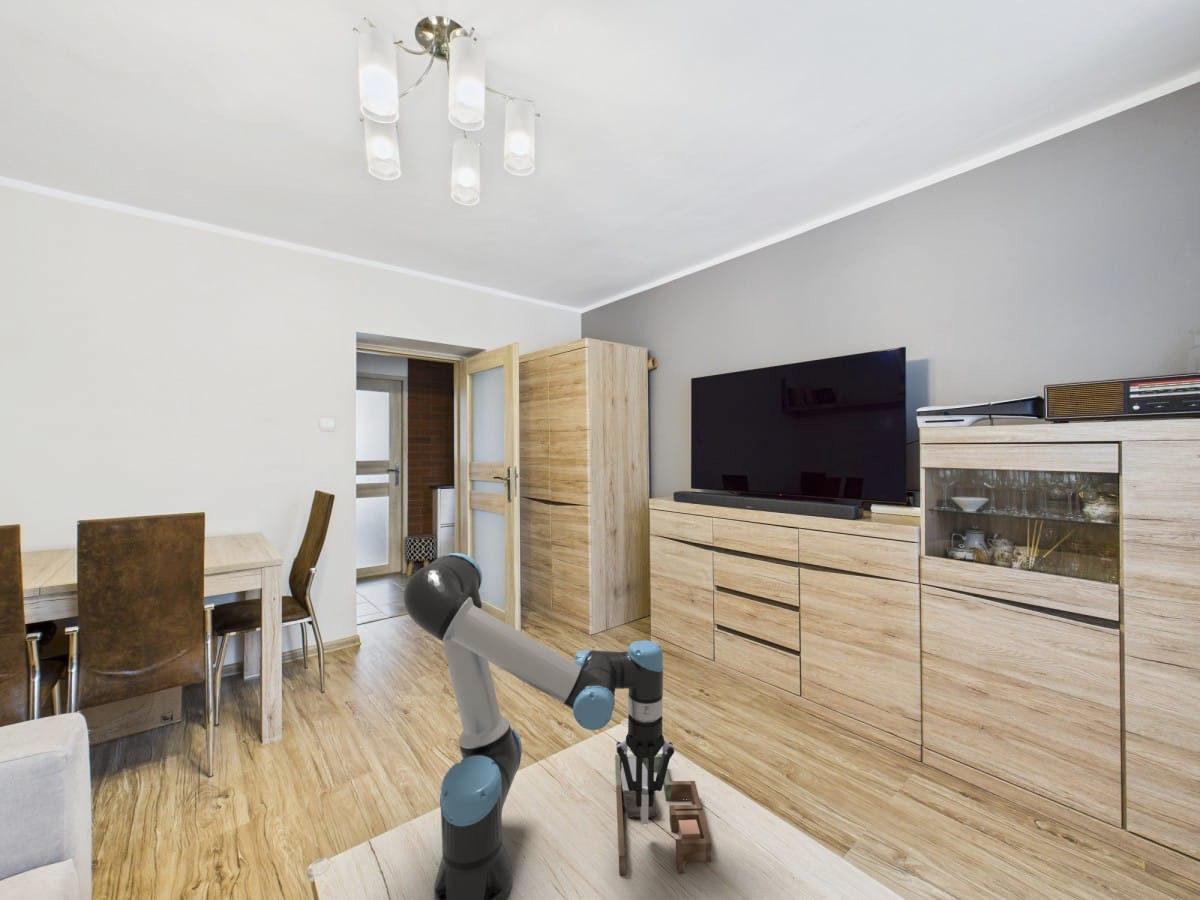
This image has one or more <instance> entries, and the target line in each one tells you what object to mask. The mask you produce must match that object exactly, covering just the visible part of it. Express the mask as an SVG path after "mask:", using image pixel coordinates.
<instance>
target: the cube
mask: <svg viewBox="0 0 1200 900" xmlns="http://www.w3.org/2000/svg"><path fill="white" fill-rule="evenodd" d="M678 822H679V832H678V839H700V831H699V828H698V824H697V821H696V820H678Z"/></svg>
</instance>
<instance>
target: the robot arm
mask: <svg viewBox="0 0 1200 900" xmlns="http://www.w3.org/2000/svg"><path fill="white" fill-rule="evenodd" d="M482 580H483V575H482V571H481V568H480V566H479V564H478V562H476V561H475V559H473V558H472V557H470V556H469V555H467V554H464V553H462V552H461V553H460V552H455V553H454V552H453V553H448V554H445V555H442V556H439V557H438V558H435V559H434V560H433V561H432V562H431V563H429V564H427V565H426V566H424V567H422V568H420V569H418V570H417V571H415V572H414V573H413V574H412V575H411V577H409V579H408V581H407V583H406V586H405V588H404V591H403V602H404V603H403V604H404V606H405V609H406V611H407V613H408V615H409V617H410V618H411V619H412V621H414V623H415V624H417V625H418V626H419V627H420V628H421V629H422V630H424V631H425V632H427V633H428V634H429V635H432V636H433V638H436V639H438V640H439V641H442V645H443V650H444V654H445V659H446V661H447V667H448V671H449V676H450V679H451V684H452V687H453V688H452V689H453V692H454V697H455V701H456V704H457V710H458V713H459V717H460V722H461V725H462V732H461V734H460V735H459V737H458V744H459V751H460V754H461V760H460V762H459V763H458V762H456V763H455V764H453V765H451V767H450V768H449V769H448V771H447V772H446V773H445V775H444V776H443V778H442V782H441V785H440V786H441V788H440V798H439V806H440V807H439V808H440V819H441V820H440V823H441V824H440V825H441V846H442V849H441V850H442V851H441V852H442V856H441V860H440V863H439V867H438V869H437V870H438V871H437V874H436V877H435V881H434V886H433V887H434V889H433V890H434V891H433V893H434V895H433V896H434V899H435V900H505V899H506V898H508V897H509V895H510V893H511V890H512V886H513V871H512V870H513V869H512V865H511V861H510V858H509V855H508V854H507V851H506V848H505V845H504V843H503V826H502V825H503V824H502V818H503V817H502V816H503V815H502V814H503V807H504V805H505V802H506V800H507V796H508V795H509V792H510V790H511V787H512V785H513V782H514V780H515V776H516V774H517V772H518V770H519V768H520V765H521V760H522V753H523V746H522V745H523V744H522V741H521V737H520V734H518V732H517V731H516V730H515V728H513V727H511V723H510V720H509V719H508V718H507V717H506V716H503V715H502V714H501V711H500V707H499V706H500V705H499V703H498V697H497V693H496V690H495V686H494V682H493V677H492V673H491V668H490V664H489V663H491V664H493V665H495V666H496V667H499V668H500V669H502V670H503V671H506V672H508V673H509V674H511V675H512V676H514V677H516V678H518V679H519V680H521V681H523V682H525V683H526V684H528V685H530V686H532V687H533V688H535V689H537V690H539V691H541V692H542V693H544V694H546V695H548V696H550V697H551V698H553V699H555V700H556V701H558V702H560V703H562V704H563V705H565V707H567V708H569V709H572V711H573V718H574V719H575V721H576V723H578V725H579V726H580V727H582V728H583V729H586V730H588V731H597V730H601V729H603V728H604V727H605V726H607V725H608V724H609V722H610V721H611V719H612V715H613V711H614V709H615V704H616V700H615V698H616V697H615V696H616V695H615V694H616V690H617V689H619V690H626V689H628V697H627V698H628V699H627V700H628V701H627V702H628V705H627V706H628V707H627V708H628V711H627V712H628V717H627V721H628V722H627V725H628V726H627V734H626V736H625V740H624V741H622V742H620V741H617V742H616V753H617V755H619V756H620V758H621V760H622V764H623V768H624V773H625V777H626V781H627V785H628V789H629V791H635V792H636V805H637V807H641V818H640V822H641V825H649V818H648V807H653V796H654V793H655V792H662V790H663V788H664V786H663V783H664V779H665V775H666V771H667V769H668V767H669V763H670V759H671V758H672V756H674V753H675V749H674V745H673V742H671V741H670V742H669V741H668V742H667V741H666V740H665V738H664V735H663V690H664V689H663V687H664V686H663V685H664V683H663V682H664V659H663V657H664V656H663V649H662V647H661V646H660V645H659V644H658V643H657V642H655V641H652V640H646V639H645V640H642V639H641V640H640V641H639V640H635V641H633V642H631V643H630V645H629V647H628V649H627V650H628V651H612V650H611V651H610V650H609V651H608V650H595V649H590V650H589V649H588V650H579V651H577V652H576V653H575V656H574V662H573V661H572V660H570V659H569V658H566V657H565V656H563V655H561V654H559V653H558V652H555V651H554V650H552V649H551V648H549V647H547V646H545V645H544V644H542V643H541V642H538V640H537V641H536V640H535V639H533V638H531V637H530V636H528V635H527V634H525V633H523V632H522V631H520V630H517V629H515V628H514V627H512V626H511V625H509V624H507V623H506V622H504V621H502V620H500V619H499V618H496V617H495V616H493V615H491V614H490V613H488V612H487V611H484V610H483V603H482V600H481V595H480V592H479V590H480V588H481V586H482ZM628 748H629V750H630V751H631V752H632V754H634V755H635V756H636V782H635V781H633V778H632V774H631V770H630V765H629V761H628V757H627V753H628ZM661 749H662V753H661V754H662V757H661V761H660V765H659V768H658V771H656V773H657V774H656V777H655V771H654V757H655V756H656V755H657V754H659V752H660V751H661ZM643 758H647V785H648V787H647V786H642V763H643ZM434 899H433V900H434ZM506 900H507V899H506Z"/></svg>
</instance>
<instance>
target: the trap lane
mask: <svg viewBox="0 0 1200 900" xmlns="http://www.w3.org/2000/svg"><path fill="white" fill-rule="evenodd" d="M627 757H628V758H631V757H636V756H635V755H634V754H633V753H631V754H629V753H628V754H627ZM661 757H662V753H657V755H656V756H655V757H654V772H658V768H659V765H660V761H661ZM614 759H615V760H614V763H615V764H614V765H615V770H614V771H615V795H616V798H615V799H616V819H617V821H616V822H617V844H618V845H617V849H618V853H617V854H618V871H619V872H618V874H619V876H621V875H622V876H625V875H626V857H625V854H626V853H625V835H624V833H625V832H624V818H623V802H622V799H623V793H622V782H621V768H622V767H621V763H622V760H621V758H620V756H619V755H618V754H615V755H614ZM643 763H644V765H645V767H646V769H647V758H643ZM668 770H669V769H668V768H667V771H666V775H665V779H664V783H663V790H664V797H665V801H666V802H667V801H692V802H691V804H673V805H672V804H669V806H668V808H669V809H668V811H669V826H670V830H671V833H679V822H678V820H696V821H697V824H698V828H699V831H700V839H679V838H675V860H676V866H677V871H678V875H682V874H683V875H685V863H708V862H709V863H711V862H713V860H712V859H713V857H712V855H713V853H712V850H713V849H712V847H713V846H712V841H711V837H710V833H709V829H708V826H707V821H706V819H705V813H704V811H703V806H702V802H701V800H700V799H701V798H700V795H699V791H698V787H697V784H696V781H695V780H671V781H670V774H669V771H668ZM683 799H684V800H683ZM686 799H687V800H686ZM689 799H690V800H689Z"/></svg>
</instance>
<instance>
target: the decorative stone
mask: <svg viewBox="0 0 1200 900" xmlns="http://www.w3.org/2000/svg"><path fill="white" fill-rule="evenodd" d="M628 761H629V765H630V770H631V774H632V778H633V781H635V782H636V757H631V758H628ZM621 767H622V768H621V772H620V774H621V790H622V791H621V793H622V808H623V809H624V810H625V812H626V815H627V816H628V817H629V818H638V819H641V807H637V805H636V792H635V791H629V789H628V785H627V781H626V777H625V773H624V768H623V764H622V763H621ZM642 786H647V787H648V785H647V769H646V767H645V765H644V763H642ZM657 815H658V805H657V801H656V797H655V792H654V796H653V807H648V819H649V818H650V819H651V818H655V817H656V816H657Z"/></svg>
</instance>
